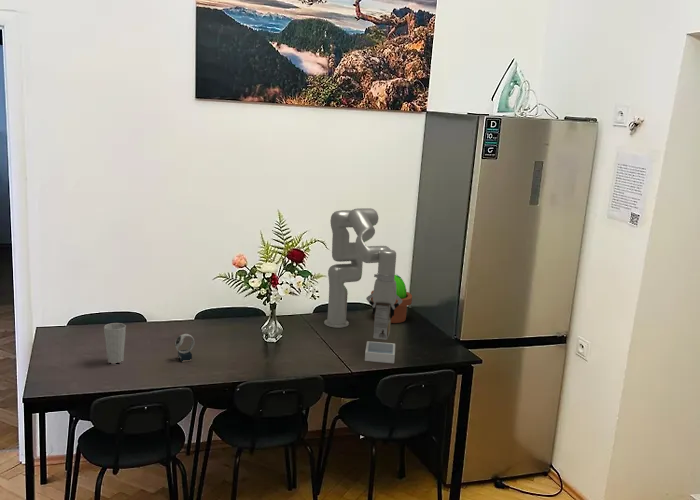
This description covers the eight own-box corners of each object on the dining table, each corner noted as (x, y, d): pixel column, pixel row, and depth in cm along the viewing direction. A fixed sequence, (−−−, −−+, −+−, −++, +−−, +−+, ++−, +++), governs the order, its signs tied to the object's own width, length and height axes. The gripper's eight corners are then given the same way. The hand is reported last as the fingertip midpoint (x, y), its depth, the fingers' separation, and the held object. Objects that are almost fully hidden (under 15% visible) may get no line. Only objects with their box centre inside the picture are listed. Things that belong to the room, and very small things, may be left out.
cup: (114, 367, 249) (113, 331, 245) (99, 362, 253) (99, 326, 249) (131, 361, 256) (130, 325, 253) (116, 356, 260) (116, 321, 257)
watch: (173, 358, 262) (173, 333, 259) (192, 355, 266) (192, 331, 263) (176, 363, 257) (176, 338, 255) (195, 360, 261) (196, 335, 259)
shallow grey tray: (366, 349, 285) (367, 341, 285) (394, 351, 285) (395, 343, 284) (364, 360, 272) (365, 352, 271) (394, 363, 271) (394, 354, 270)
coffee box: (376, 331, 281) (378, 297, 278) (390, 333, 280) (392, 299, 276) (372, 338, 272) (375, 303, 269) (387, 340, 271) (389, 305, 268)
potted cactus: (370, 323, 321) (373, 277, 316) (368, 310, 343) (371, 267, 337) (412, 326, 322) (416, 279, 316) (407, 313, 343) (411, 269, 338)
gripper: (365, 278, 267) (363, 317, 271) (405, 281, 266) (402, 320, 270) (366, 274, 275) (364, 312, 278) (405, 277, 273) (402, 315, 277)
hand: (383, 316), depth 274 cm, fingers closed on coffee box, 6 cm apart
